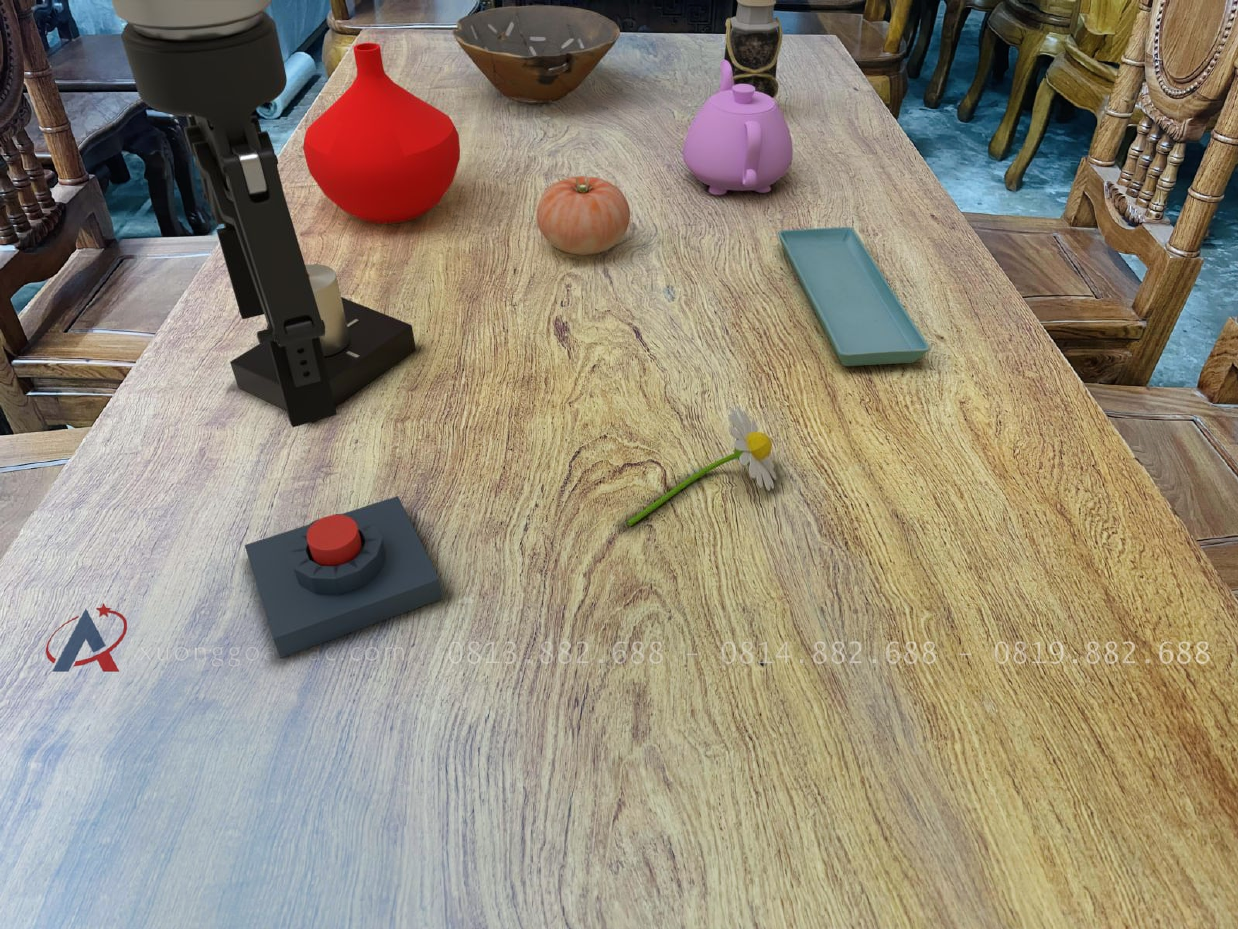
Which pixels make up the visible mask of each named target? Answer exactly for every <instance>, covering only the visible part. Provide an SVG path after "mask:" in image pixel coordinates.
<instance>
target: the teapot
mask: <svg viewBox="0 0 1238 929" xmlns="http://www.w3.org/2000/svg"><path fill="white" fill-rule="evenodd" d="M719 68H720V82H719V87H718V91H717V92H716V93H714V94H713V95H711V96H710V97H709V98H708V99H707V101H705V103H704V104H703V105H702V107H701V108H700V110H699V111H698V112H697V114H696V116H695V117H694V119H693V120H692V122H691V123H690V126H689V128H688V130H687V132H686V136H685V139H684V143H683V147H682V158H683V162H684V164H685V166H686V167H687V169H688V170H689V172H690V173H691V174H692V175H693V176H694V177H695V179H697V180H698V181H700V182H701V183H703V184H705V185H707V186H709V188H708V192H709V193H710V194H712V195H717V196H720V195H721V196H722V195H724V194H726V193H727V192H728V191H754V192H756V193H764V194H765V193H768V192H770V191H771V189H772V188H771V187H770V186H771V185H773V184H775V183H776V182H777V181H778V180H780V179H781V178H782V177H783V176H784V175H785V174H786V173H787V172H788V171H789V169H790V168H791V166H792V163H793V156H794V152H793V151H794V150H793V149H794V148H793V142H792V136H791V132H790V128H789V126H788V123H787V121H786V119H785V117H784V115H783V113H782V110H781V108H780V107H779V105H778V103H777V102H776V101H775V99H774V98H771V97H770V96H768V95H766V94H764V93H761V92H757V91H755V87H754V86H752V85H749V84H737V85H734V80H733V73H732V68H731V65H730V63H729V62H728V61H727V60H724V59H721V60H720V67H719Z"/></svg>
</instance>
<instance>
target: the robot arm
mask: <svg viewBox="0 0 1238 929" xmlns="http://www.w3.org/2000/svg"><path fill="white" fill-rule="evenodd" d="M110 1H111V2H110V3H111V4H112V7H113V12H114V14H115V15H116V17H118V18H120V19H121V20H122V21H124V22H126V24H125V26H124V27H123V31H122V32H121V35H120V38H121V42H122V46H123V48H124V52H125V54H126V58H127V60H128V65H129V67H130V71H131V74H132V77H133V80H134V83H135V87H136V90H137V93H138V95H139V98H140V99H141V100H142V102H143V103H144V104H146V105H147V106H149V108H151V109H153V110H155V111H157V112H160V113H163V114H167V115H171V116H176V117H186V121H187V126H184V127H183V131H184V136H185V139H186V142H187V144H188V147H189V151H190V153H191V156H192V157H193V159H194V162H195V164H196V168H197V171H198V174H199V177H200V181H201V186H202V194H201V195H202V198H203V200H204V201H206V203H207V205H208V206H210V216H211V217H210V218H211V219H212V221H214V222H215V225H216V226H220V225H223V227H221V228H216V231H215V232H216V234H217V238H218V241H219V245H220V248H221V252H222V255H223V258H224V262H225V265H226V269H227V273H228V276H229V279H230V280H229V281H230V284H231V286H232V290H233V294H234V297H235V298H234V299H235V301H236V304H237V308H238V312H239V315H240V317H241V319H242V320H247V319H250V318H256V317H258V316H263V315H264V318H265V321H266V323H267V325H266V328H265V329H263V330H259V331H256V338H257V340H258V343H259V344H263V343H267V342H268V343H269V346H270V350H271V354H272V357H273V361H274V365H275V369H276V372H277V376H278V380H279V384H280V387H281V391H282V395H283V399H284V402H285V406H286V410H287V411H286V410H285V411H286V413H287V417H288V421H289V423H290V425H291V427H292V428H296V427H299V426H303V425H306V424H310V423H311V422H313V421H315V422H317V421H320V420H323V419H328V418H331V417H333V416H337V410H336V409H337V408H336V407H335V404H334V400H333V395H332V391H331V387H330V382H329V378H328V373H327V369H326V364H325V360H324V355H323V351H322V346H321V342H320V338H319V337H321V336H325V333H326V332H325V324H324V321H323V320H321V317H320V313H319V310H318V307H317V303H316V300H315V297H314V293H313V290H312V287H311V283H310V280H309V276H308V273H307V270H306V266H305V265H306V263H305V260H304V257H303V252H302V250H301V247H300V244H299V240H298V237H297V233H296V229H295V227H294V223H293V220H292V216H291V213H290V209H289V206H288V202H287V199H286V196H285V192H284V188H283V185H282V180H281V177H280V176H281V175H280V172H279V167H278V165H279V159H278V156H277V154H275V149H274V146H273V143H272V140H271V136H270V134H269V132H268V131H267V130H264V131H262V127H261V124H260V121H259V118H258V117H257V115H253V113H254V112H255V111H256V110H257V109H258V108H259V107H261V106H262V105H264V104H270V103H271V102H273V101H274V100H276V99H277V98H279V97H280V95H282V93H283V92H284V91H285V89H286V87H287V82H288V78H287V74H286V73H287V72H286V68H285V67H286V66H285V63H284V58H283V54H282V48H281V44H280V38H279V34H278V33H279V32H278V29H277V24H276V21H275V20H274V18H272V17H270V15H269V14H268V13H267V12H265V10H267V8H268V7H269V6H270V4H272V0H110ZM313 423H314V422H313Z"/></svg>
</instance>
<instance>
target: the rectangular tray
mask: <svg viewBox="0 0 1238 929" xmlns="http://www.w3.org/2000/svg"><path fill="white" fill-rule="evenodd" d="M777 236H778V238H779V241H780V243H781V245H782V248H783V251H784V252H785V255H786V256H787V258H788V260H789V263H790V264H791V266H792V269H793V271H794V273H795V274H796V277H797V279H798V281H799V283H800V285H801V287H802V289H803V291H804V294H805V295H806V297H807V299H808V301H809V303H810V306H811V307H812V309H813V311H814V313H815V315H816V317H817V319H818V321H819V323H820V325H821V326H822V329H823V330H824V332H825V334H826V336H827V338H828V340H829V343H830V344H831V346H832V348H833V350H834V352H835V354H836V356H837V357H838V360H839V362H840V364H841V365H842V366H844V367H857V366H858V367H860V366H873V365H874V366H875V365H892V364H893V365H894V364H909V363H914V362H916V361H918V360H920V358H922V357H924V356H925V355H926V354H927V353H928V352H930V350H931V346H930V345H929V343H928V342H927V340H926V339H925V337H924V336H923V334H922V333H921V331H920V330H919V328H918V327H917V325H916V324H915V322H914V321H913V319H912V317H911V316H910V314H909V313H908V311H907V310H906V308H905V307H904V306H903V304H902V302H901V301H900V300H899V298H898V297H897V294H896V293H895V292H894V290H893V288H892V286H891V285H890V283H889V282H888V280H887V279H886V277H885V276H884V274H883V272H882V270H881V269H880V268H879V266H878V264H877V263H876V261H875V260H874V258H873V257H872V255H871V254H870V252H869V250H868V248H867V247H866V246H865V244H864V242H863V240H862V239H861V238H860V236H859V235H858V233H857V232H856V230H855V228H853V227H851V226H837V227H819V228H801V229H799V228H798V229H797V228H796V229H782V230H778V231H777Z"/></svg>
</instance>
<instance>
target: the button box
mask: <svg viewBox="0 0 1238 929" xmlns="http://www.w3.org/2000/svg"><path fill="white" fill-rule="evenodd" d="M333 515H344V516H347V517H350V518H351V519H353V520H354V521H355V522H356V524H357V527H358V531H359V535H360V539H361V543H362V546H361V550H360V552H359V554H358V555H357V556H356V557H355V558H354V559H353V560H351V561H350V562H348V563H345V564H342V565H339V566H324V565H321V564H319V563H317V562H316V561H315V560H314V559H313V557H312V554H311V551H310V548H309V545H308V541H307V532H308V530H309V528H310V527H311V526H312V524H314V523H315V522H316V521H318V520H319V519H315V520H313V521H311V522H310V523H309V524H306V525H303V526H299V527H296V528H294V529H290V530H287V531H284V532H281V533H278V534H275V535H272V536H268V537H265V538H263V539H259V540H257V541H253V542H249V543H246V544H245V545H244V548H245V552H246V555H247V559H248V562H249V565H250V568H251V571H252V575H253V578H254V582H255V585H256V588H257V591H258V594H259V597H260V600H261V604H262V607H263V610H264V614H265V618H266V620H267V624H268V626H269V630H270V634H271V636H272V639H273V643H274V645H275V648H276V651H277V654H278V656H279V658H280V659H282V658H285V657H288V656H290V655H293V654H296V653H298V652H301V651H304V650H306V649H309V648H312V647H315V646H318V645H320V644H323V643H326V642H329V641H332V640H335V639H336V638H339V637H342V636H346V635H348V634H351V633H354V632H356V631H359V630H361V629H364V628H367V627H369V626H372V625H375V624H378V623H381V622H384V621H386V620H389V619H391V618H394V617H397V616H400V615H402V614H405V613H408V612H411V611H413V610H417V609H418V608H421V607H424V606H427V605H430V604H432V603H436V602H438V601H441V600H443V599H444V597H443V592H442V584H441V580H440V577H439V575H438V573H437V571H436V569H435V567H434V565H433V563H432V561H431V559H430V556H429V555H428V553H427V551H426V549H425V547H424V545H423V543H422V541H421V539H420V537H419V535H418V533H417V531H416V529H415V527H414V525H413V523H412V520H411V519H410V517H409V515H408V513H407V511H406V509H405V507H404V505H403V503H402V501H401V499H400V497H399V496H398V495H397V496H393V497H390V498H387V499H384V500H381V501H378V502H374V503H372V504H369V505H365V506H362V507H359V508H356V509H353V510H350V511H347V512H343V513H334V514H333Z"/></svg>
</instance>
